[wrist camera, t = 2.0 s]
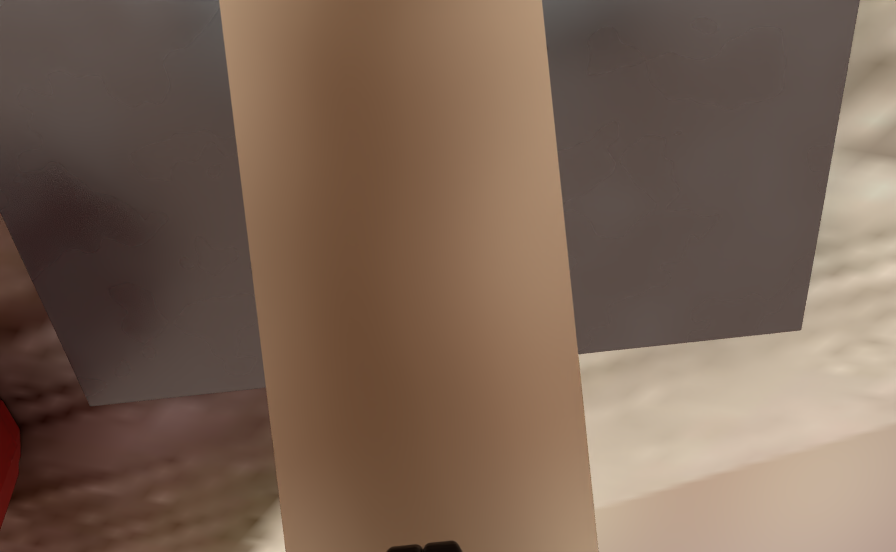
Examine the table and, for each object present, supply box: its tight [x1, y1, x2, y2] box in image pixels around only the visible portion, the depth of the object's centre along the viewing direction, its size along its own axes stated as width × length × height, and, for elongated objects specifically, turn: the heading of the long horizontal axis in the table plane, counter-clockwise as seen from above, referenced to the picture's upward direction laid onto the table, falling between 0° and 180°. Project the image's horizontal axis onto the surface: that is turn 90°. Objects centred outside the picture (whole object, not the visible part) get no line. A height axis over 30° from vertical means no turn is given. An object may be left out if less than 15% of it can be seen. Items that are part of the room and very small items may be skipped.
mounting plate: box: [0, 0, 860, 406], centre depth 16 cm, size 20×18×4 cm
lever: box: [219, 0, 598, 552], centre depth 13 cm, size 5×16×2 cm
